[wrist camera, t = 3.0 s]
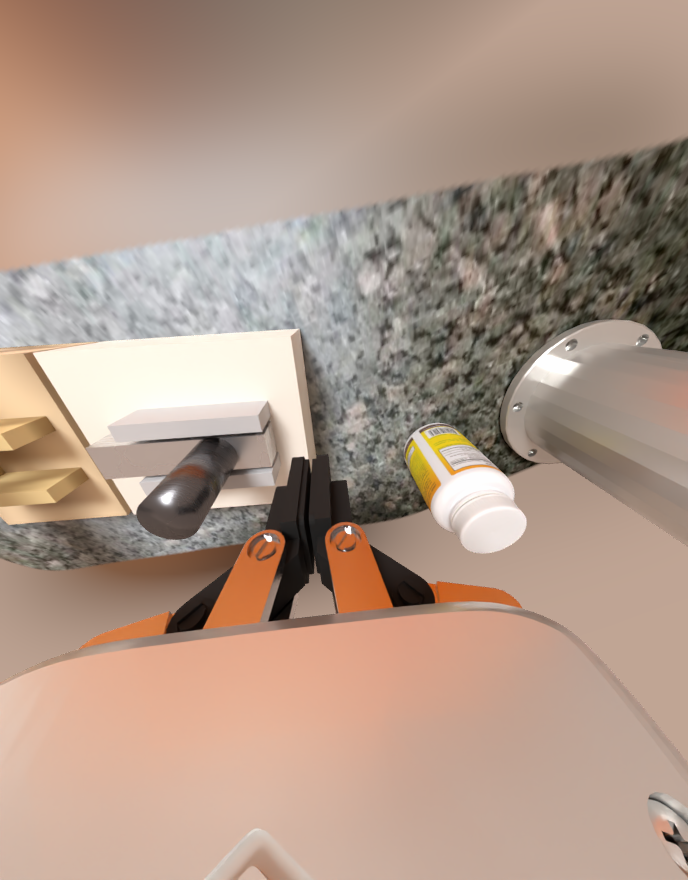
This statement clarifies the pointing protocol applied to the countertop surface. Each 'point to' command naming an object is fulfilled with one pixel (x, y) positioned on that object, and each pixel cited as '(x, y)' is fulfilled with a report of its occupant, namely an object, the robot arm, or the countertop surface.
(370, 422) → the countertop surface
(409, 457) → the supplement bottle
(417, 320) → the countertop surface
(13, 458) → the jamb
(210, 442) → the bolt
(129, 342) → the white slotted base
